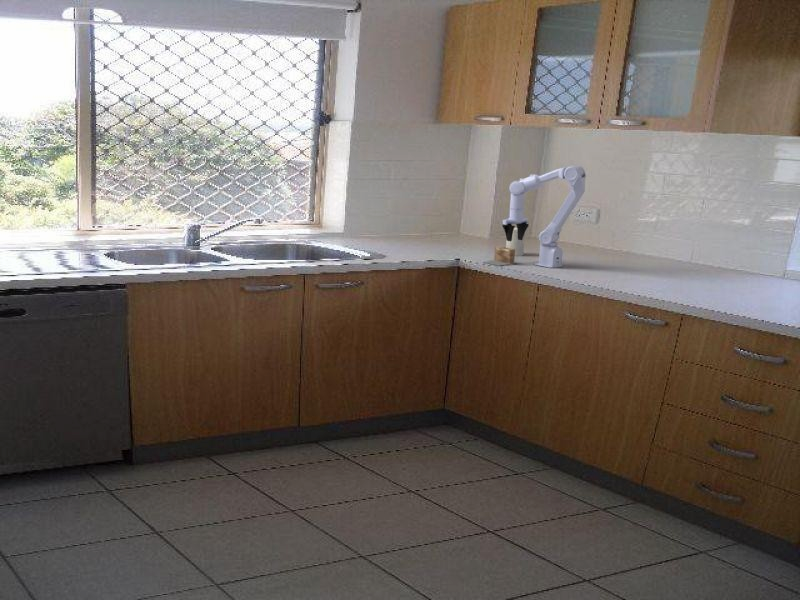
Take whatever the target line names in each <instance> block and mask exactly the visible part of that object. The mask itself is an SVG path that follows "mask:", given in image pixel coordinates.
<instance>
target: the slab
mask: <svg viewBox="0 0 800 600" xmlns="http://www.w3.org/2000/svg"><path fill="white" fill-rule="evenodd" d="M493 255H494V258H493V261H499V262H503V263H508V264H511V263H515V257H516V256H515V249H511V248H506V246H505V247H503V246H495V247H494V254H493Z"/></svg>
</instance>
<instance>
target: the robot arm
mask: <svg viewBox="0 0 800 600" xmlns="http://www.w3.org/2000/svg"><path fill="white" fill-rule="evenodd" d="M586 177H587V175H586V172H585V169H584V167H582V166H581V165H578V164H577V165H570V166H566V167H562V168H561V167H560V168H556V169H555V170H552V171H550V172H547V173H544V174H542V175H539V174H534V173H532V174H530V175H529V176H528V177H525V178H524V177H522V178H519V180H514V181H512V182H511V183H510V185H509V187H508V188H509V192H510V198H509V199H510V203H509V217H508V218H505V219H502V228H503V231H504V233H505V236H506V237H505V239H507V241H512V234H513V230H514V228H517V230H518V240H522V239H523V236H524V233H526V231H527V229H528V227H529V226H530V224H529V221H530V219H529V218H527V217H524V202H525V193H527V192H530V191H533V190H537V189H538V188H541V186H542V184H544V183H546V182H550V181H553V180H556V179H558V178H559V179H561V180H562V179H564V180H565V181H566V182H567V183H568V184H569V188H570V192H569V194H568V195H567V196H566V198H565V200H564V202H563V203H562V205H560V208H559V209H558V210H557V213H556V214H555V216H554V217H553V219H552V221H550V223H549V224H548V225H547V226H546V228H545V229H543V230H542V231H541V232H540V233H539V235H538V239H539V242H540V243H539V252H538V253H539V256H538V262H534V265H535V266H540V267H545V268H550V269H552V268H553V269H554V268H559V267H560V268H561V267H564V265H563V249H562V247H560V246H558V243H557V241H558V240H559V238H560V234H561V231H562V229H563V226H564V224H565V223H566V221H567V220H568V218H569V217H570V215H571V214H572V212H573V210H574V209H575V207H576V206H577V205H578V203H579V201H580V200H581V198H582V196H583V195H584V194H585V191H586ZM515 225H516V226H515Z"/></svg>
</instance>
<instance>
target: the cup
mask: <svg viewBox="0 0 800 600" xmlns="http://www.w3.org/2000/svg"><path fill="white" fill-rule="evenodd" d="M525 233H526V232H525ZM525 233H524V236H523V239H522V240H518V230H517V227H514V230H513V234H512V241H507V238H505V239H506V241H505V242H506V243H505V248H511V249H515V257H522V255H523V256H524V250H525V235H526V234H525Z"/></svg>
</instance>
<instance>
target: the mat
mask: <svg viewBox="0 0 800 600" xmlns="http://www.w3.org/2000/svg"><path fill="white" fill-rule="evenodd" d="M481 263H482V264H487V265H492V266H497V267H504V265H506V266H511V265H510V264H508V263H503V262H499V261H494V260H487V261H482V262H481ZM511 264H514V265H518V262H514V263H511Z"/></svg>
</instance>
